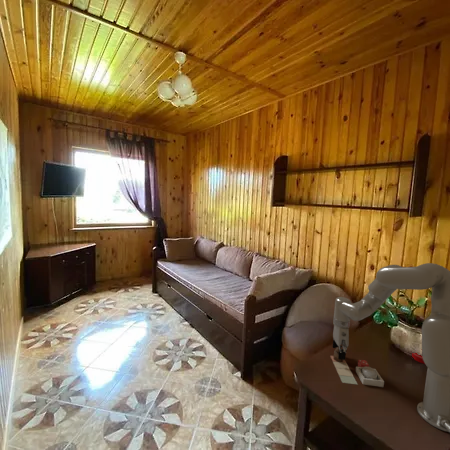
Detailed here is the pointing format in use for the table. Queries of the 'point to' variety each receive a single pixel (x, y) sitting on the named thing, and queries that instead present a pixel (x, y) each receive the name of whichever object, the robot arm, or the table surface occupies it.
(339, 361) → the pawn
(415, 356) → the decorative ornament
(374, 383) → the popper base
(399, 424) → the table surface
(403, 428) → the table surface
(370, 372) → the dome
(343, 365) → the game board
